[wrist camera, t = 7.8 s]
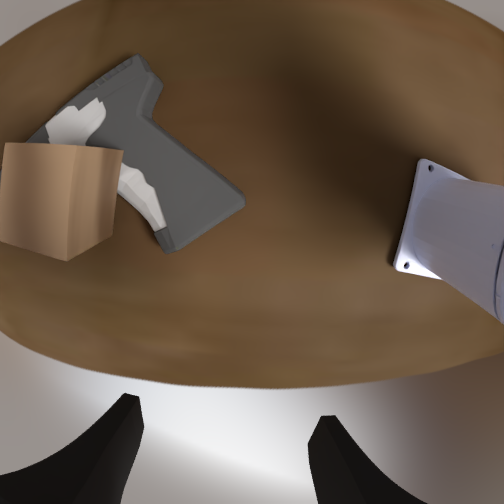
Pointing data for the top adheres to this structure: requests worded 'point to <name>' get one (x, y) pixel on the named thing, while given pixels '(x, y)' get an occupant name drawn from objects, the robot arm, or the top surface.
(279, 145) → the top surface
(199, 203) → the handgun
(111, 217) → the walnut cube
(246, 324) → the top surface
